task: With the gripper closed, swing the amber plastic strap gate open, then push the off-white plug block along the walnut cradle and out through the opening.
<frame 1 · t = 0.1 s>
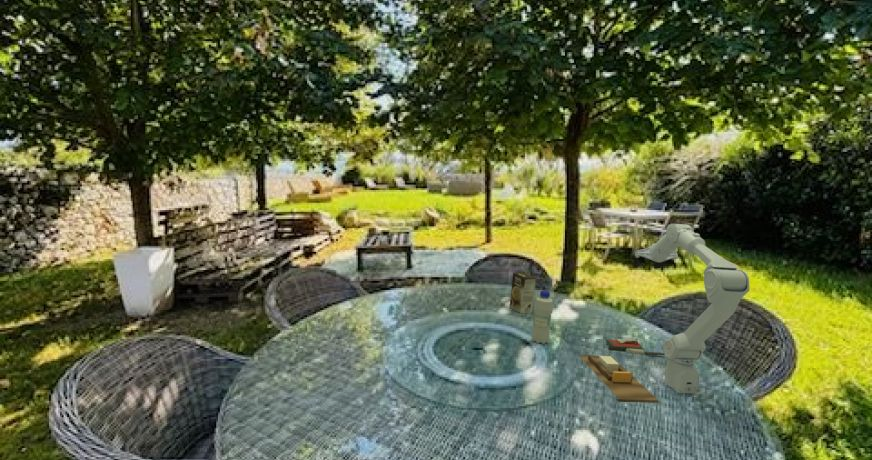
hand: (644, 265, 174), 32 cm above the table, tool tilted 50°, fingers open, 7 cm apart
coffee box: (520, 310, 217), on the table
strap gate: (622, 376, 150), point 3 cm above the table, hinge at 0.0°
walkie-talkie: (632, 352, 179), on the table
plug: (607, 368, 160), point 1 cm above the table, touching cradle
bottle: (539, 343, 180), on the table
cradle: (614, 377, 155), on the table
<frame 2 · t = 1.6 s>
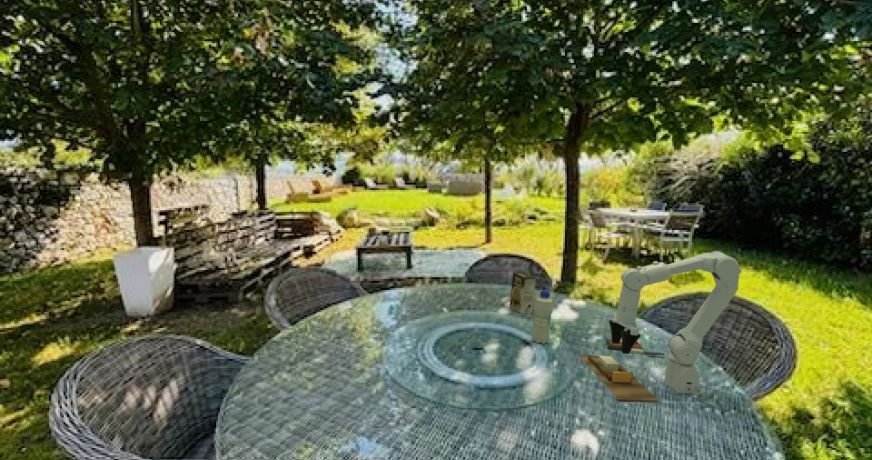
hand: (620, 348, 154), 10 cm above the table, tool pointing down, fingers open, 7 cm apart
nothing on the table moved.
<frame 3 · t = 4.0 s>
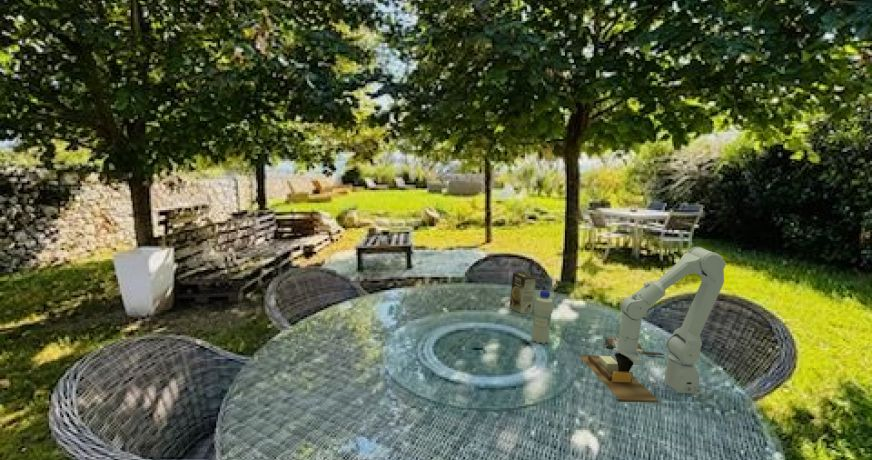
hand: (622, 377, 152), 2 cm above the table, tool pointing down, fingers closed, pressing on strap gate
strap gate: (622, 376, 150), point 3 cm above the table, hinge at 0.0°, touching gripper
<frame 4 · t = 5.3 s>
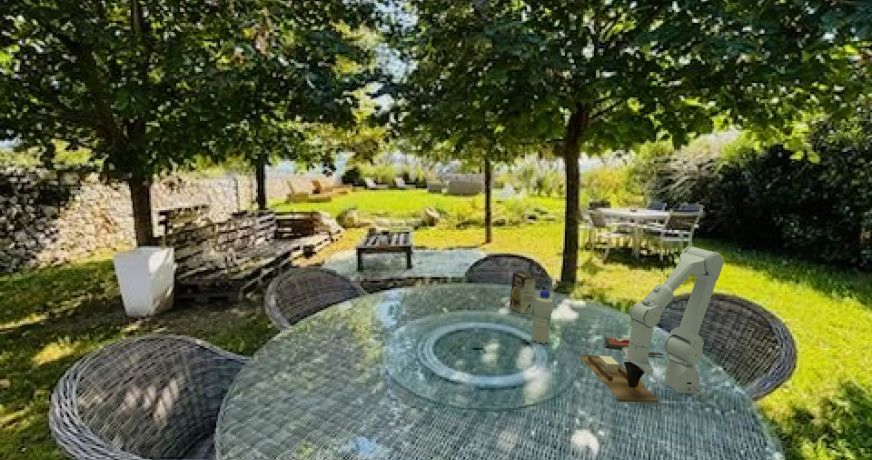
hand: (632, 386, 145), 2 cm above the table, tool pointing down, fingers closed, pressing on strap gate
strap gate: (635, 381, 148), point 3 cm above the table, hinge at 84.8°, touching gripper
everything else where it was.
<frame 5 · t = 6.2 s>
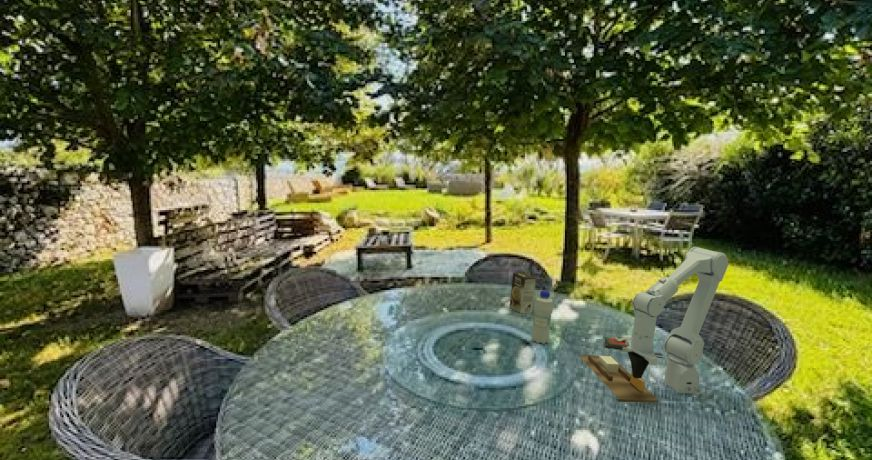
hand: (636, 377, 144), 5 cm above the table, tool pointing down, fingers closed
strap gate: (636, 381, 148), point 3 cm above the table, hinge at 93.5°
everything else where it was.
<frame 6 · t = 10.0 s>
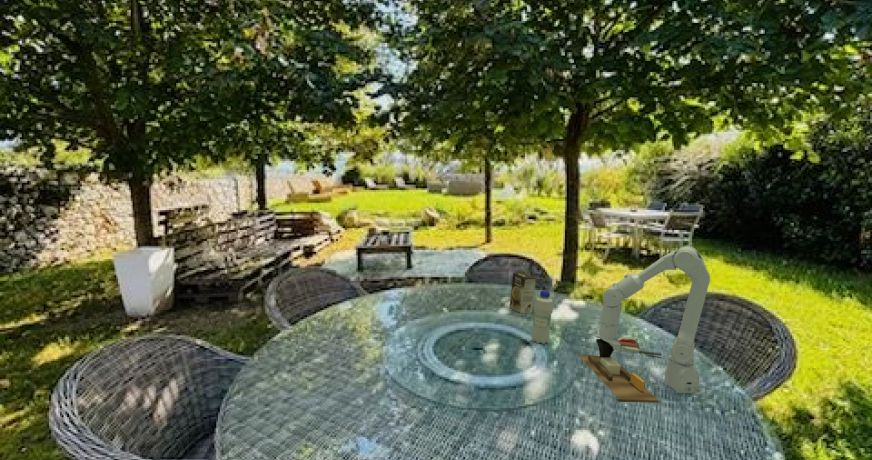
hand: (604, 361, 163), 2 cm above the table, tool pointing down, fingers closed
strap gate: (636, 381, 148), point 3 cm above the table, hinge at 94.2°
plug: (609, 370, 159), point 1 cm above the table, touching cradle, gripper
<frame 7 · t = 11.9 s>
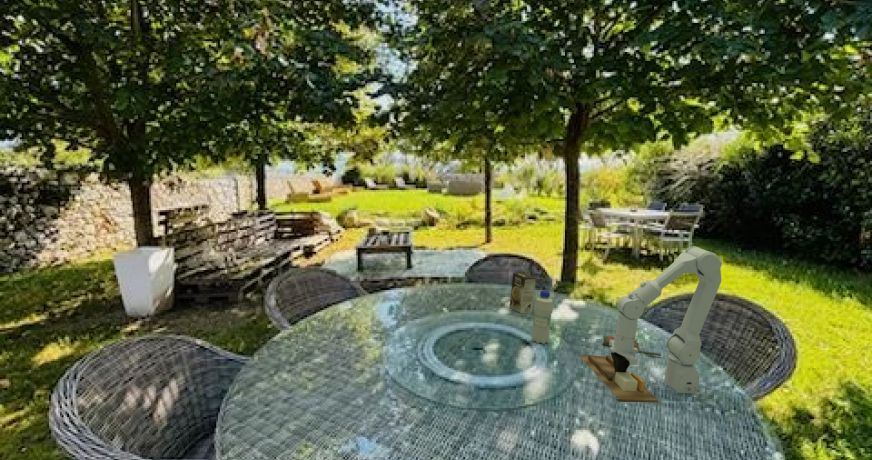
hand: (619, 376, 152), 2 cm above the table, tool pointing down, fingers closed
plug: (625, 386, 148), point 1 cm above the table, touching cradle, gripper
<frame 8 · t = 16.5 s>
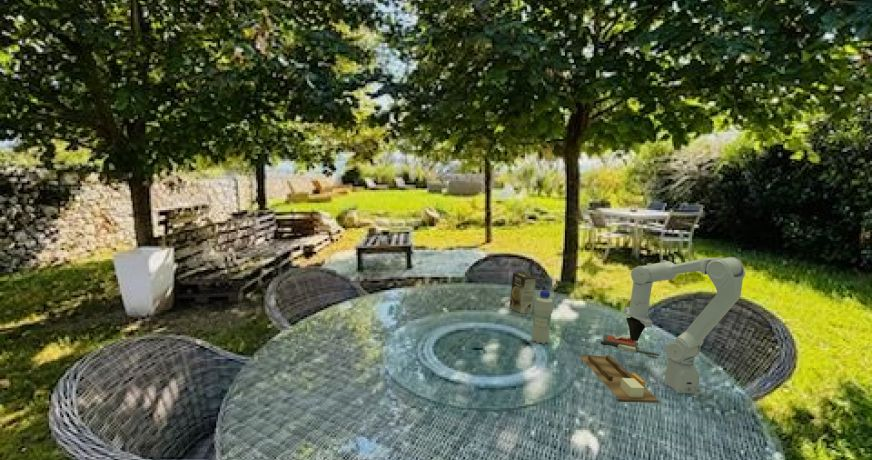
hand: (634, 340, 164), 9 cm above the table, tool pointing down, fingers closed
plug: (631, 392, 145), point 1 cm above the table, touching cradle
at the end: strap gate at +94° (first picture: +0°); plug inside the target area (1.6 cm from its centre), point 0.8 cm above the table; plug tilted 0° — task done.
